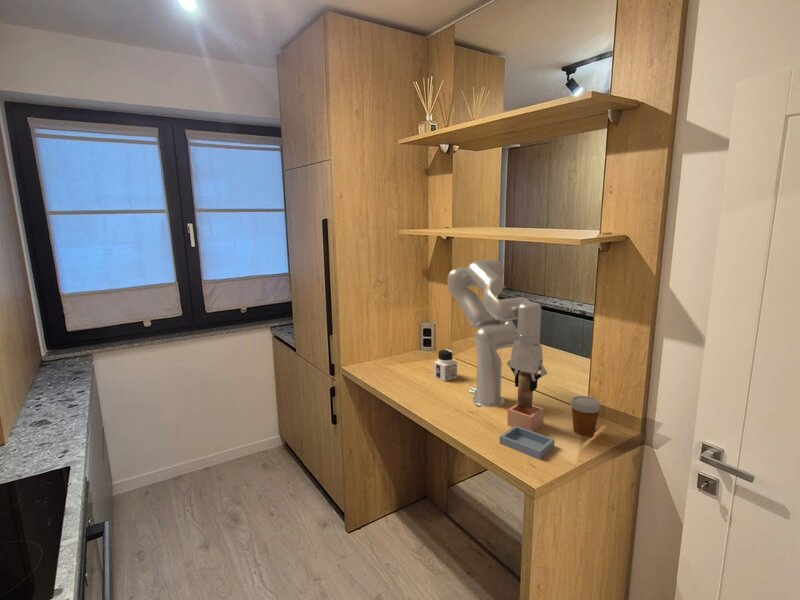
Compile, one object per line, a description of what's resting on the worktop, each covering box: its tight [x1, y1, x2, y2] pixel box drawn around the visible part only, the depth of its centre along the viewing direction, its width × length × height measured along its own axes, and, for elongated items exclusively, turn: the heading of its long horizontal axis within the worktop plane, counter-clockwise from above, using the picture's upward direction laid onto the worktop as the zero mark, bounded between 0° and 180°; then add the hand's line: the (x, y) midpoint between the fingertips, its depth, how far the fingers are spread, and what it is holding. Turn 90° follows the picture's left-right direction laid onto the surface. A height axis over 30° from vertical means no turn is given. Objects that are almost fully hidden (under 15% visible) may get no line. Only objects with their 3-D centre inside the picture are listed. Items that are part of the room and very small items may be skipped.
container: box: [433, 348, 458, 382], centre depth 200 cm, size 8×8×13 cm
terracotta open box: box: [507, 403, 545, 432], centre depth 152 cm, size 9×9×7 cm
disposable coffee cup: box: [570, 395, 602, 439], centre depth 146 cm, size 10×10×12 cm
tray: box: [499, 425, 556, 460], centre depth 139 cm, size 14×10×4 cm
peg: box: [516, 371, 534, 409], centre depth 150 cm, size 5×5×12 cm
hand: (525, 387), depth 150 cm, fingers closed on peg, 5 cm apart
